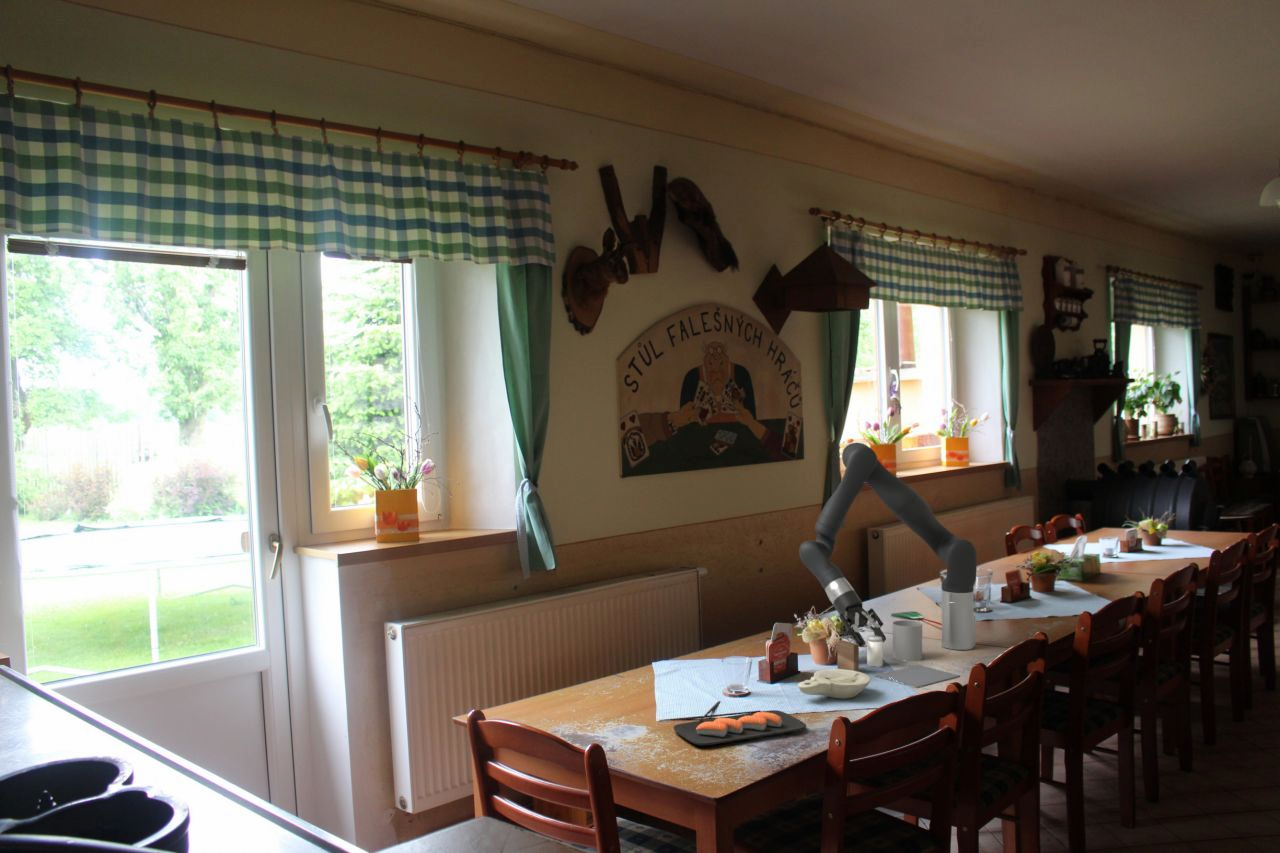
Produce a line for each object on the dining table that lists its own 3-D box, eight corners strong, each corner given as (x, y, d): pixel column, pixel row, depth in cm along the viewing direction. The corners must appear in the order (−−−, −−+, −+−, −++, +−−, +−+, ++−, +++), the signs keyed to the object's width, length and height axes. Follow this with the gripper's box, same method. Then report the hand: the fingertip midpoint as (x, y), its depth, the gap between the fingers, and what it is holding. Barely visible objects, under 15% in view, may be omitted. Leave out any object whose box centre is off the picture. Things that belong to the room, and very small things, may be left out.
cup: (923, 661, 285) (923, 627, 284) (893, 660, 286) (893, 626, 286) (920, 654, 293) (920, 620, 293) (892, 653, 294) (892, 619, 294)
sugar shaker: (874, 662, 284) (874, 634, 284) (886, 665, 281) (886, 637, 281) (863, 664, 282) (863, 636, 282) (875, 667, 278) (875, 639, 278)
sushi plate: (697, 753, 213) (697, 736, 212) (641, 714, 240) (641, 698, 240) (812, 734, 224) (812, 718, 224) (746, 699, 252) (746, 684, 252)
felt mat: (918, 665, 280) (918, 664, 280) (960, 676, 269) (960, 675, 269) (875, 676, 270) (875, 675, 270) (916, 688, 258) (916, 686, 258)
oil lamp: (820, 711, 240) (820, 690, 240) (781, 696, 252) (781, 677, 252) (882, 697, 251) (882, 677, 251) (842, 683, 263) (842, 665, 263)
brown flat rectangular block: (842, 668, 278) (842, 640, 278) (858, 673, 273) (858, 644, 273) (837, 669, 277) (837, 641, 277) (853, 674, 272) (853, 645, 272)
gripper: (833, 592, 284) (863, 639, 275) (866, 586, 293) (897, 632, 283) (819, 607, 289) (849, 654, 280) (853, 601, 297) (883, 647, 288)
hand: (873, 643), depth 282 cm, fingers open, 8 cm apart
